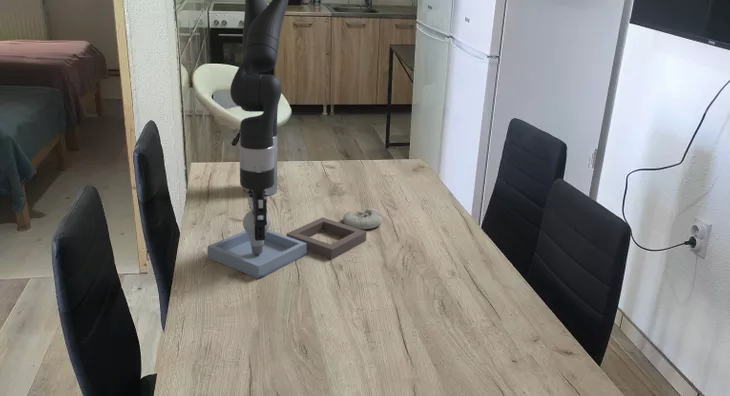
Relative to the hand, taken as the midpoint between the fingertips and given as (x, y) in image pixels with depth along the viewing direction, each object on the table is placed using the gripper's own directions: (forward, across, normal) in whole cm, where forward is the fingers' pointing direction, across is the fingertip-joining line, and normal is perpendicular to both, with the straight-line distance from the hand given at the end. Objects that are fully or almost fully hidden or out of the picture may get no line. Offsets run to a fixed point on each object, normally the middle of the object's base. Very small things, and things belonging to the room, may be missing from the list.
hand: (257, 232), depth 149 cm
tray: (+6, 0, 0) cm, 6 cm away
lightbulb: (+6, 0, 0) cm, 6 cm away
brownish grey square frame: (+6, -6, +18) cm, 19 cm away
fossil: (+7, -16, +30) cm, 34 cm away
